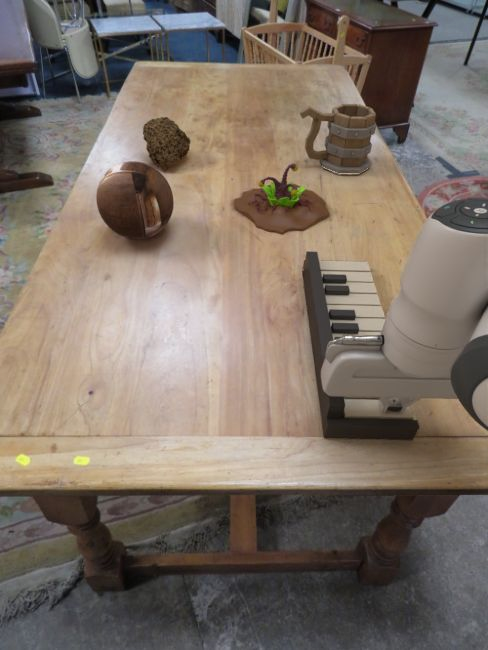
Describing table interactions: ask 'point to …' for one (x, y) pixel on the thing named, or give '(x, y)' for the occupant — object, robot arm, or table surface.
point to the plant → (282, 206)
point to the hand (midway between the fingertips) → (390, 408)
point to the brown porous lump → (165, 142)
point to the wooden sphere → (134, 200)
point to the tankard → (342, 137)
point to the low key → (344, 266)
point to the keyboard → (332, 323)
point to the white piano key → (371, 410)
